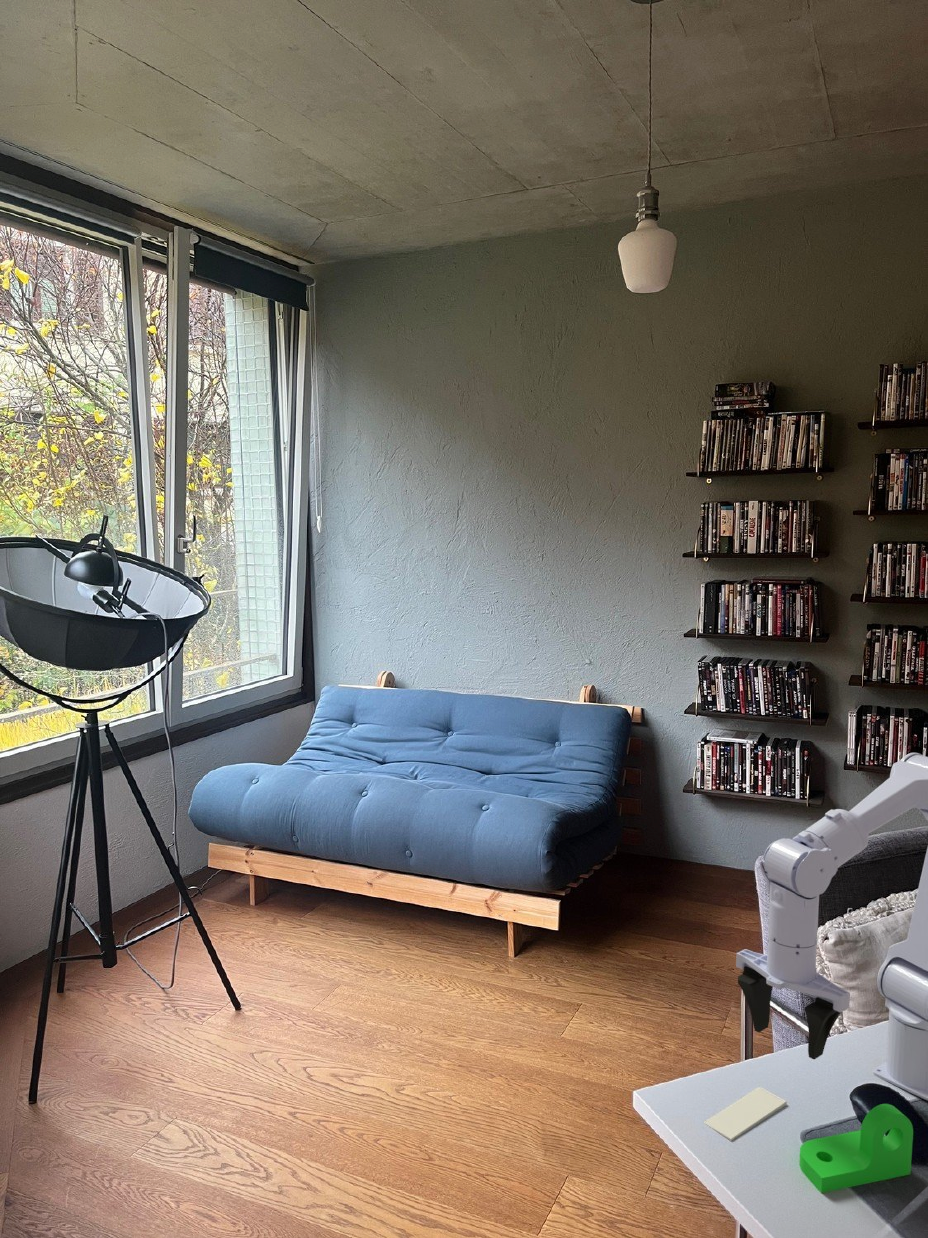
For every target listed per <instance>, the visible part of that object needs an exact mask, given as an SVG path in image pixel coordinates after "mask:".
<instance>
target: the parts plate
mask: <svg viewBox="0 0 928 1238" xmlns="http://www.w3.org/2000/svg"><path fill="white" fill-rule="evenodd" d="M787 1103H788V1102H787V1100H785V1099H783V1098H781V1097H779V1096H777V1095H776V1094H774V1093H772V1092H770V1091H768V1090H766V1089H765V1088H763V1087H761V1086H758V1087H756V1088H755V1089H753V1090H752V1091H750V1092H749V1093H747V1094H745V1095H743V1097H741V1098H740V1099H738V1100H736V1101H735V1102H733V1103H731V1104H730V1105H728V1106H727V1107H725V1108H723V1109H722V1110H720V1111H719V1112H717V1113H716V1114H714V1115H712V1116H711V1117H710V1118H708V1119H706V1120H705V1121H703V1124H705V1125H706V1126H708V1127H709V1128H711V1129H712V1130H713V1131H714V1132H717V1133H718V1134H719V1135H720V1136H722V1137H725V1139H727V1140H728V1141H731V1142H732V1141H733V1140H735V1139H736V1138H738V1137H739V1136H741V1135H742V1134H744V1133H746V1132H747V1131H749V1130H750V1129H752V1128H753V1127H754V1126H756V1125H758V1124H760V1123H761V1122H762V1121H764V1120H765V1119H766V1118H768V1117H770V1116H771V1115H773V1114H775V1113H776V1112H777V1111H779V1110H780V1109H782V1108H783V1107H785V1106H787ZM706 1121H707V1122H706Z"/></svg>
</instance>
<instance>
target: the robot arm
mask: <svg viewBox="0 0 928 1238" xmlns="http://www.w3.org/2000/svg"><path fill="white" fill-rule="evenodd" d="M911 809H916V810H917V809H918V810H919V811H920V812H921V813H922V815H923V816H924V818H925V820H926V821H927V822H928V756H926V755H924V754H921V753H920V752H919V753H918V752H910V753H908V754H906V755H904V756H903V757H902V758H901V759H900V760H898V761H897V762H894V763H893V764H892V767H891V770H890V773H889V777H888V778H887V779H886V780H885V781H883V783H881V784H880V785H879V786H877V787H876V788H875V789H874V790H872V792H871V793H869V794H868V795H867V796H866V797H864V799H861V801H860V802H858V803H857V804H856V805H855V806H854V807H852V808H851V809H850V810H849V811H848V810H846V809H841V808H836V809H832V808H831V809H830V810H828V811H827V812H825V814H824V816H823V817H822V818H821V819H819V820H818V821H816V822H814V823H812V825H810V826H809V827H807V828H806V829H805V830H802V831H801V832H799V833H798V834H797V835H796V836H794V837H792V839H791V838H787V837H786V838H785V837H784V838H779V839H778V840H775V841H773V842H771V843H770V844H769V845H768V846H767V848H766V849H765V851H764V854H763V858H762V860H760V861H759V868H760V872H761V875H762V876H763V878H764V879H765V881H766V892H767V893H768V895H769V902H768V903H769V906H768V927H767V929H768V930H767V951H766V952H767V954H764V953H763V954H762V953H759V952H754V951H752V950H749V949H746V948H745V949H743V950H740V951H739V952H736V959H735V960H736V961H735V967H736V968H738V969H740V970H742V974H740V975H738V976H737V984H738V986H739V987H740V990H741V991H742V993H743V995H744V997H745V999H746V1002H747V1004H748V1009H749V1011H750V1016H751V1019H752V1026H753V1029H754V1032H757V1033H760V1032H762V1031H764V1030H766V1029H768V1028H769V1025H770V1018H771V1017H770V1014H771V999H772V994H773V993H772V992H773V988H775V989H777V990H782V989H788V990H792V991H796V992H799V993H801V994H803V995H807V996H809V997H811V998H813V999H815V1000H814V1001H815V1002H814V1001H813V1002H811V1003H810V1004H808V1005H806V1006H804V1012H805V1015H806V1020H807V1027H808V1028H807V1029H808V1042H807V1053H808V1058H809V1059H812V1060H816V1059H818V1058H820V1057H821V1056H822V1055H823V1054H824V1051H825V1047H826V1043H827V1040H828V1037H829V1034H830V1033H831V1031H832V1028H833V1027H834V1024H835V1023H836V1021H837V1020H838V1018H839V1016H840V1015H841V1013H842V1012H844V1011H846V1010H847V1009H849V1008H850V1003H851V1002H850V1001H851V992H850V991H848V990H845V989H843V988H842V987H840V986H838V985H836V984H835V983H834V982H832V981H830V980H829V979H828V978H826V977H825V976H824V975H822V974H820V973H819V972H817V951H818V950H817V949H818V947H817V946H818V931H819V930H818V929H819V928H818V927H819V908H820V907H819V906H820V905H819V904H820V895H822V894H824V893H825V892H826V890H827V889H828V887H829V886H830V884H831V882H832V878H833V877H834V876H835V875H836V874H837V872H838V870H839V869H838V868H840V867H841V866H842V865H844V864H845V863H847V862H848V861H849V860H852V858H854V857H856V855H858V854H860V853H861V852H862V851H863V850H864V849H866V848H867V846H868V845H869V834H870V833H873V832H874V831H875V830H878V829H879V828H881V827H882V826H884V825H886V824H888V823H889V822H891V821H893V820H894V819H897V818H898V817H899V816H902V815H904V814H905V813H906V812H908V811H910V810H911ZM925 852H926V853H925V857H924V862H923V865H922V871H921V875H920V878H919V879H920V880H919V883H918V887H917V894H916V897H915V901H914V906H913V911H912V914H911V915H912V916H911V919H910V924H909V929H908V933H907V938H906V939H904V940H902V941H899V942H897V943H894V944H892V945H890V946H889V947H888V951H887V954H886V958H885V960H884V961H883V963H882V965H881V966H880V968H879V970H878V972H877V973H878V974H877V979H876V984H877V985H876V986H877V990H878V992H879V994H880V995H881V996H882V997H883V998H885V1003H884V1006H885V1007H886V1008H887V1009H888V1010H889V1011H888V1024H887V1025H888V1027H887V1029H888V1030H887V1042H886V1043H887V1044H886V1045H887V1046H886V1059H885V1061H884V1062H883V1063H882V1064H880V1065H878V1067H876V1068H874V1069H873V1070H872V1074H873V1075H874V1076H875V1077H877V1078H880V1079H881V1080H884V1081H886V1082H887V1083H889V1084H892V1085H893V1086H896V1087H898V1088H900V1089H902V1090H904V1091H906V1092H908V1093H911V1094H913V1095H915V1096H917V1097H919V1098H921V1099H923V1100H926V1101H928V846H927V848H926V851H925Z"/></svg>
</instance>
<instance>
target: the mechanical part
mask: <svg viewBox="0 0 928 1238" xmlns="http://www.w3.org/2000/svg"><path fill="white" fill-rule="evenodd" d="M913 1127H914V1126H913V1123H912V1122H911V1120H910V1118H908V1117H907V1116H906V1115H905V1114H903V1112H901V1110H899V1109H898V1108H897V1107H895V1106H894V1105H892V1104H891V1103H890V1104H889V1103H882V1104H877V1105H876V1106H874V1107H873V1108H872V1109H870V1110H869V1111H868V1113H866V1115H865V1116H864V1118H863V1120H862V1123H861V1127H860V1129H859V1130H855V1131H850V1132H845V1133H840V1134H834V1135H829V1136H824V1137H819V1138H818V1137H817V1138H814V1139H808V1140H806V1141H805V1142H803V1143H802V1144H801V1146H800V1147H799V1168H800V1170H801V1171H802V1173H803V1174H804V1176H805V1178H807V1179H808V1180H809V1182H810V1183H811V1184H812V1185H813V1186H814V1187H815V1188H816V1189H817V1191H819V1193H820V1194H824V1193H828V1192H833V1191H838V1190H843V1189H846V1188H851V1187H857V1186H861V1185H866V1184H870V1183H875V1182H881V1181H885V1180H890V1179H893V1178H900V1177H903V1176H909V1175H911V1173H912V1172H911V1171H912V1157H913V1156H912V1155H913V1141H914V1128H913ZM887 1132H888V1134H887ZM886 1134H887V1135H886ZM885 1135H886V1136H885Z"/></svg>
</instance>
